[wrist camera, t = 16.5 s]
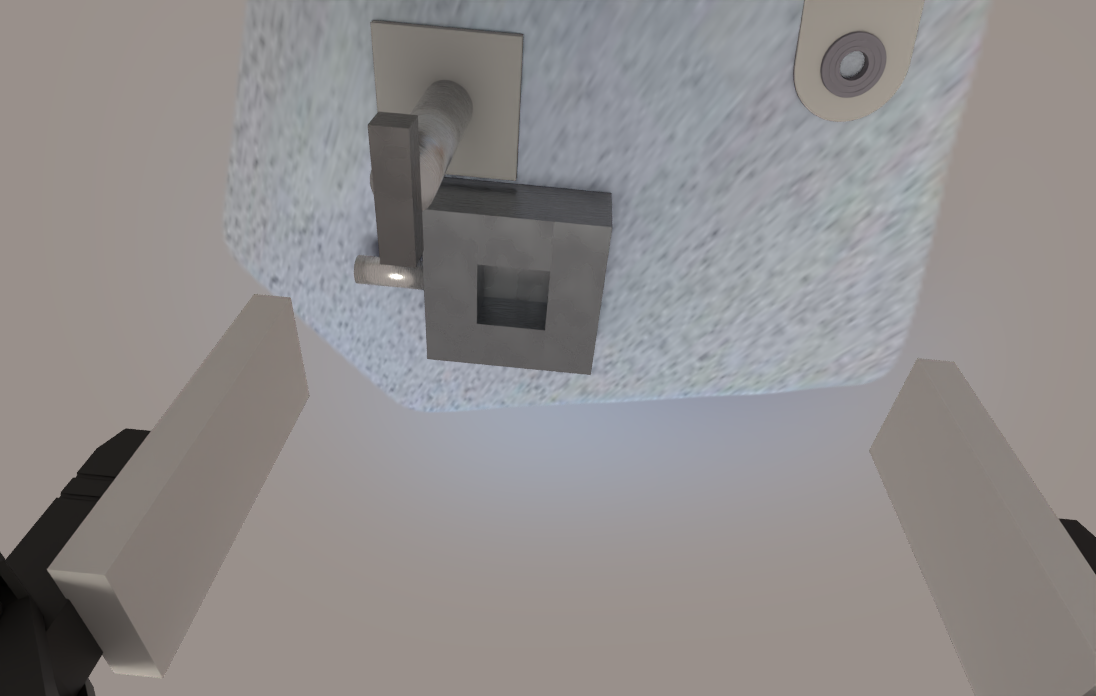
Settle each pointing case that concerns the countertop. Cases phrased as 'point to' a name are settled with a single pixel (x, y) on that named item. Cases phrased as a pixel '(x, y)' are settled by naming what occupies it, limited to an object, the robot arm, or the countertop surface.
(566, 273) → the block
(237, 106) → the countertop surface
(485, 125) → the mat
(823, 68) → the bracket
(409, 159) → the chuck key
